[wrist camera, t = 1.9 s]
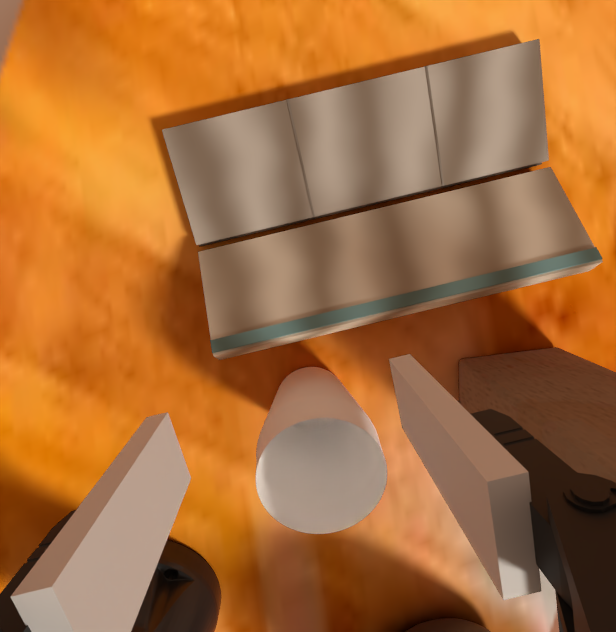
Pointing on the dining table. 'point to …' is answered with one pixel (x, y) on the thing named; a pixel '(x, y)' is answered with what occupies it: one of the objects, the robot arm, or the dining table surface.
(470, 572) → the dining table surface
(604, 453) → the wooden block
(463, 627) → the vase
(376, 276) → the plank
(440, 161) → the laid row
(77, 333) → the dining table surface
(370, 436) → the cup
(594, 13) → the dining table surface
